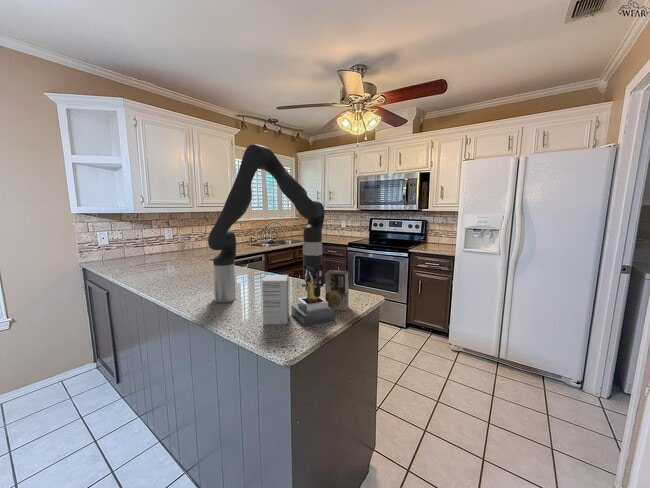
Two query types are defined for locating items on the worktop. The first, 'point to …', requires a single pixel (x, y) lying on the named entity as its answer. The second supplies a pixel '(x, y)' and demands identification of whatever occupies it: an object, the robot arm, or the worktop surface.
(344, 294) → the coffee box
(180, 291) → the worktop surface
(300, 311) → the grey square socket base
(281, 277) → the supplement box
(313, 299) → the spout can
